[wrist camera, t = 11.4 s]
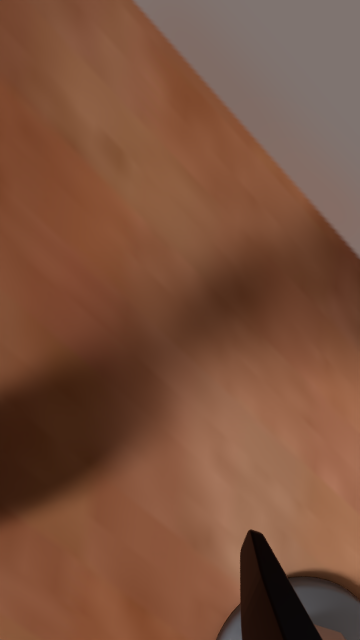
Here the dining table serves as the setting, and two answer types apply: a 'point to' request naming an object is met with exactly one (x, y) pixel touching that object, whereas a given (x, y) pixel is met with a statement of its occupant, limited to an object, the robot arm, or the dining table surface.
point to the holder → (315, 610)
